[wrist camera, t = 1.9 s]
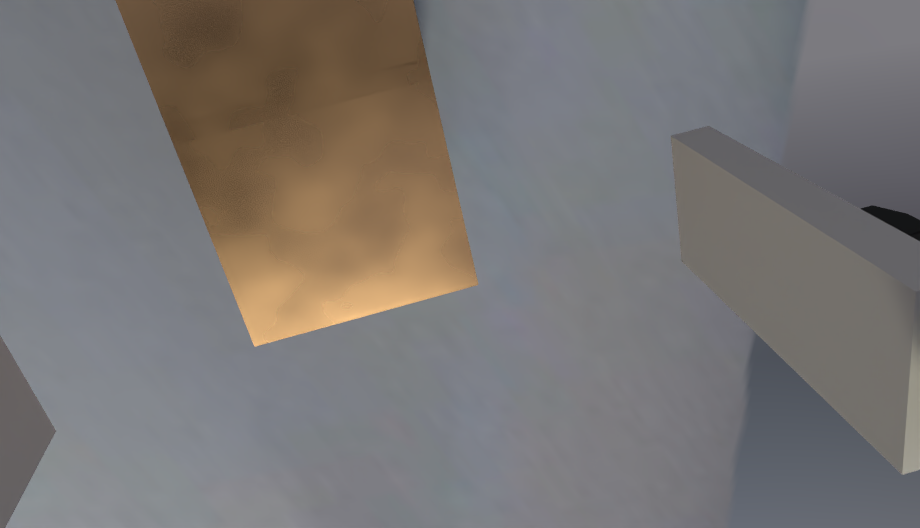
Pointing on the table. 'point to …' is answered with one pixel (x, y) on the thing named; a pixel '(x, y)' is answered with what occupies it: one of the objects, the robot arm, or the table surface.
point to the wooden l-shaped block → (309, 153)
